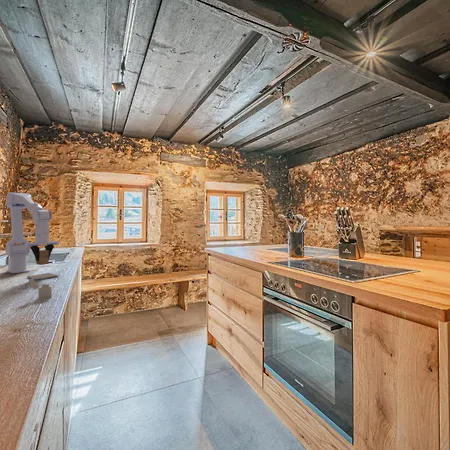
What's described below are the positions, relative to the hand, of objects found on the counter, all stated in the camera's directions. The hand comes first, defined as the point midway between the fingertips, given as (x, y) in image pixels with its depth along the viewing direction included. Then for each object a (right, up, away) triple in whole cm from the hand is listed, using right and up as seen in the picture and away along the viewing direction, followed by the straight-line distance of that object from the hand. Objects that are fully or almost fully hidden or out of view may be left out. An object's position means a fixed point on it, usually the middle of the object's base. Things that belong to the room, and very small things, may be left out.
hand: (42, 260), depth 133 cm
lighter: (+22, -11, -32) cm, 41 cm away
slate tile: (0, -9, 0) cm, 9 cm away
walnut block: (0, -2, 0) cm, 2 cm away
